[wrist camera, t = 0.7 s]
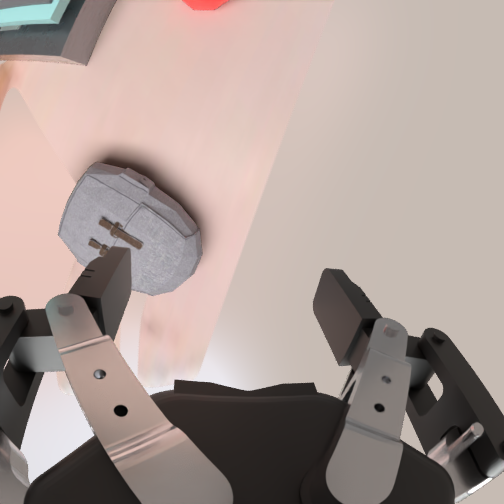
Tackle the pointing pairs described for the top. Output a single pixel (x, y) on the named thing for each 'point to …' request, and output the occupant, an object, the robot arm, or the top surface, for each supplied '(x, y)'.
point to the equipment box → (58, 35)
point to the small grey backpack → (131, 227)
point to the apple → (204, 4)
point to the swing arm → (31, 12)
